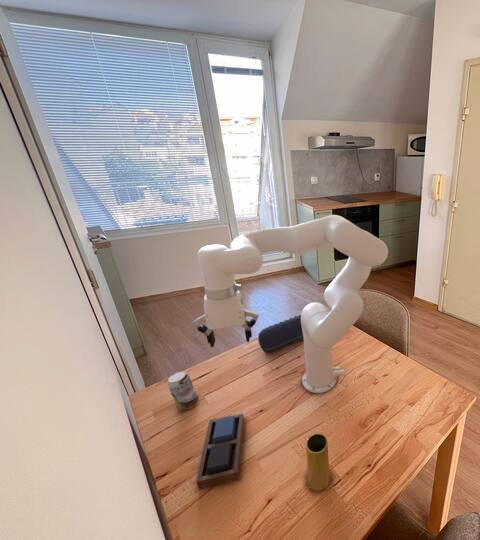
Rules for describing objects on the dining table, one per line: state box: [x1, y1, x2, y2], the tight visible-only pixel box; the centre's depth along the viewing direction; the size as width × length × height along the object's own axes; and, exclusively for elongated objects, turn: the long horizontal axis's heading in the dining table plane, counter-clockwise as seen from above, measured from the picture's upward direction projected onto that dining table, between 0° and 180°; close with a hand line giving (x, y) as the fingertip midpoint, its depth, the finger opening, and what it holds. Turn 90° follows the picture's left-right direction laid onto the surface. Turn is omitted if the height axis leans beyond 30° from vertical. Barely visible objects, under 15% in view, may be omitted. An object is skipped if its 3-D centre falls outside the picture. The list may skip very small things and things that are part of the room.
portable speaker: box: [257, 314, 304, 353], centre depth 126 cm, size 25×10×10 cm, turn 130°
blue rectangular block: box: [213, 415, 236, 444], centre depth 86 cm, size 5×6×4 cm
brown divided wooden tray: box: [195, 413, 245, 490], centre depth 82 cm, size 10×18×3 cm, turn 15°
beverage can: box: [167, 370, 199, 411], centre depth 95 cm, size 6×7×12 cm
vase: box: [305, 432, 331, 492], centre depth 74 cm, size 6×6×14 cm
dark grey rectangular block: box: [207, 442, 233, 475], centre depth 78 cm, size 5×6×4 cm
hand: (231, 341), depth 86 cm, fingers open, 9 cm apart
